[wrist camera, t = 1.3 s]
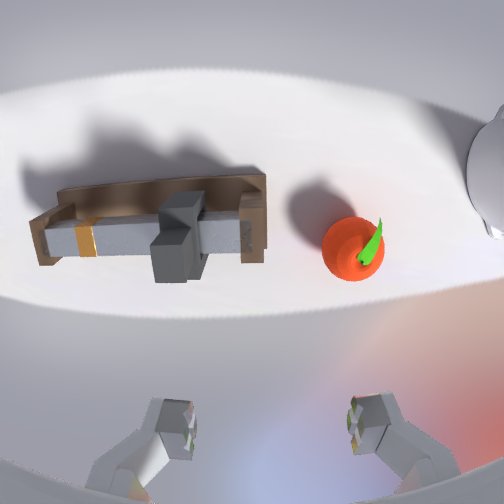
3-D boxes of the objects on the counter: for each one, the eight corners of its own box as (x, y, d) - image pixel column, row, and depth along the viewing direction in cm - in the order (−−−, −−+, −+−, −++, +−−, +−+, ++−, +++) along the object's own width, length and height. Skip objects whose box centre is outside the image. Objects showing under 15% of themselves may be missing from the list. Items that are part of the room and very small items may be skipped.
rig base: (265, 174, 34) (268, 190, 26) (266, 243, 37) (269, 277, 30) (62, 189, 35) (23, 208, 27) (73, 248, 38) (39, 277, 30)
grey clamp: (205, 190, 31) (183, 221, 22) (209, 251, 34) (192, 302, 24) (175, 192, 31) (142, 223, 22) (181, 251, 34) (155, 302, 24)
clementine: (342, 190, 35) (361, 206, 28) (388, 220, 36) (413, 242, 30) (305, 248, 38) (315, 275, 31) (351, 274, 39) (368, 304, 32)
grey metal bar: (251, 209, 30) (251, 219, 27) (252, 240, 31) (252, 253, 29) (52, 220, 31) (37, 229, 28) (57, 246, 32) (43, 257, 29)
